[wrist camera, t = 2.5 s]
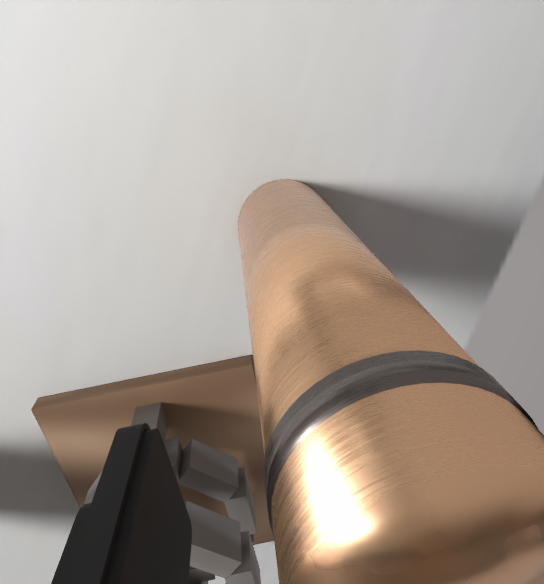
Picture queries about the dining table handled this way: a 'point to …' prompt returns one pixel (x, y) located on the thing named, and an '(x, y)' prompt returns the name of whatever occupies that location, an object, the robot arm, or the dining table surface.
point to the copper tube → (377, 418)
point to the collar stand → (179, 453)
